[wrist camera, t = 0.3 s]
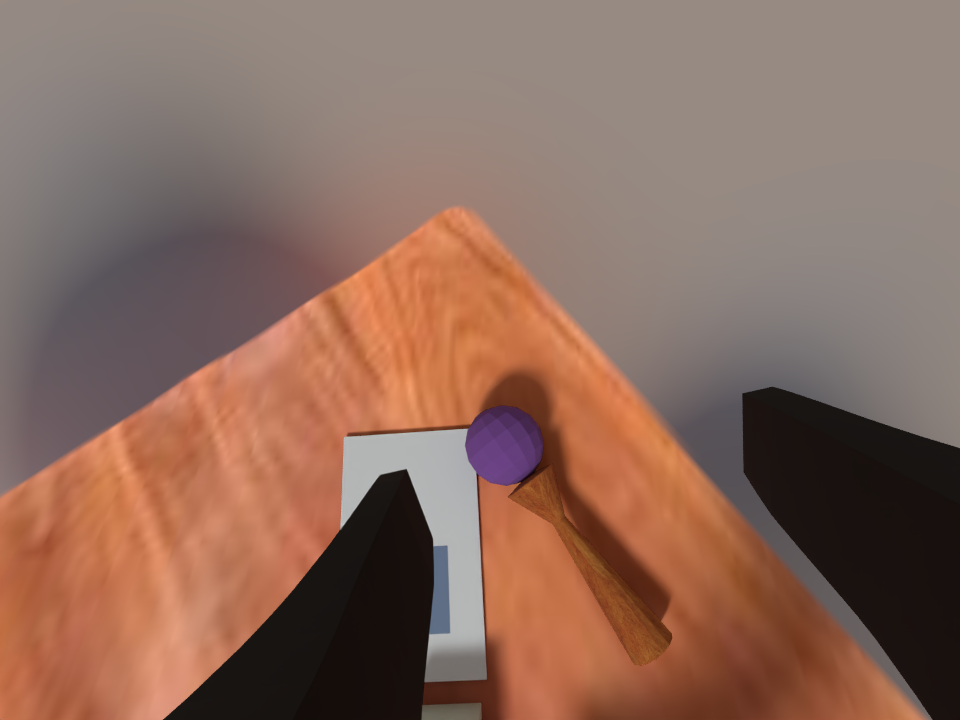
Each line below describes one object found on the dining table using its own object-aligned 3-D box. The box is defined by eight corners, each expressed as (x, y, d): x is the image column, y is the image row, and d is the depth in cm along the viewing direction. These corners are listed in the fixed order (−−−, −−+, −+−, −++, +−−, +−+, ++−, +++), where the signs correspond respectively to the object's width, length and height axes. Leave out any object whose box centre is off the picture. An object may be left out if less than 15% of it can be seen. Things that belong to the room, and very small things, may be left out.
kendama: (622, 695, 30) (441, 436, 35) (612, 653, 36) (459, 436, 40) (699, 640, 30) (507, 386, 34) (677, 607, 36) (515, 394, 40)
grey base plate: (486, 677, 34) (486, 679, 34) (336, 684, 35) (334, 686, 34) (474, 429, 40) (473, 428, 40) (345, 437, 41) (344, 437, 40)
